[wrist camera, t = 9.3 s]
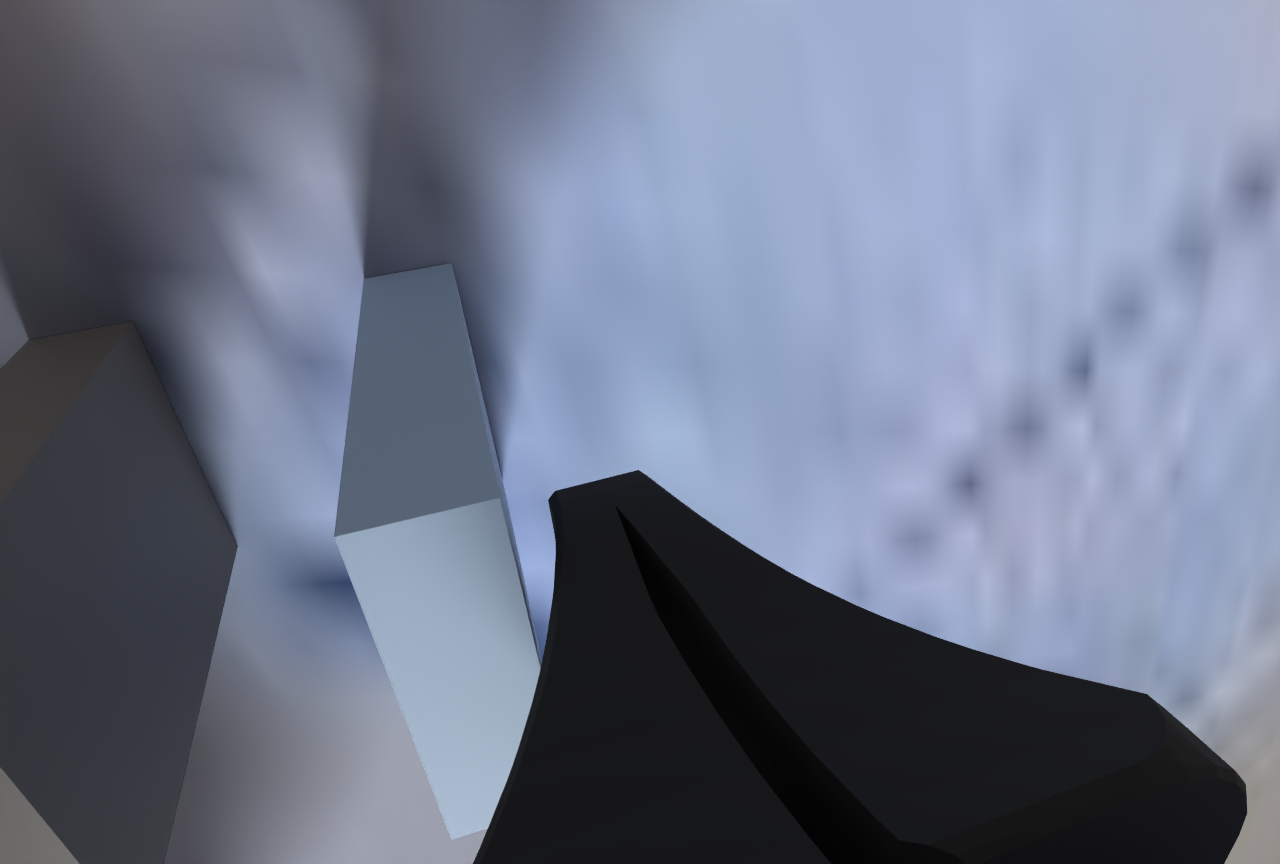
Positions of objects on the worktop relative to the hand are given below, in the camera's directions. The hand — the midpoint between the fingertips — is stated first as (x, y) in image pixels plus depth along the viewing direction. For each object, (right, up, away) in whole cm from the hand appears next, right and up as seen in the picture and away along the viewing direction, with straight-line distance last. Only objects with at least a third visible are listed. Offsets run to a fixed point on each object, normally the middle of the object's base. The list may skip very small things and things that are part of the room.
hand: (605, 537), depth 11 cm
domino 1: (-9, +1, +3) cm, 9 cm away
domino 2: (-4, +2, +4) cm, 6 cm away
